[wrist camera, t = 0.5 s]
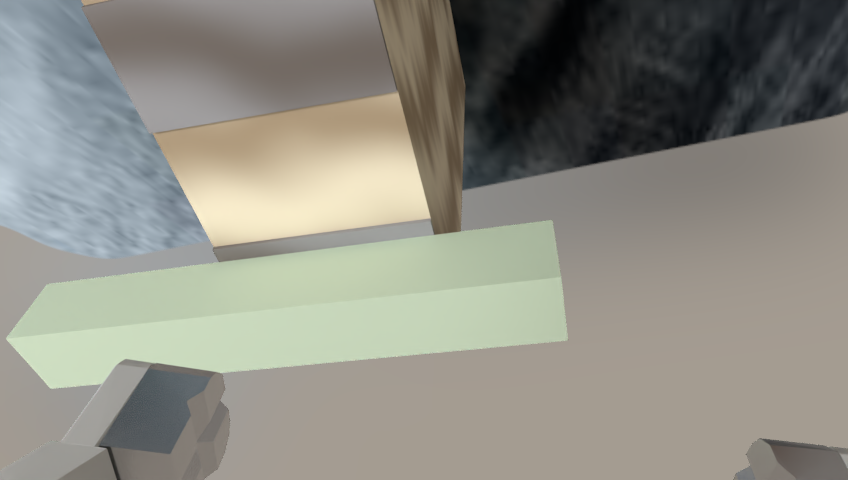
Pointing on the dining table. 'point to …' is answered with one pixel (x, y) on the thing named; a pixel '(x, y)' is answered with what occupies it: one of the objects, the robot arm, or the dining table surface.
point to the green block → (304, 307)
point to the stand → (298, 115)
